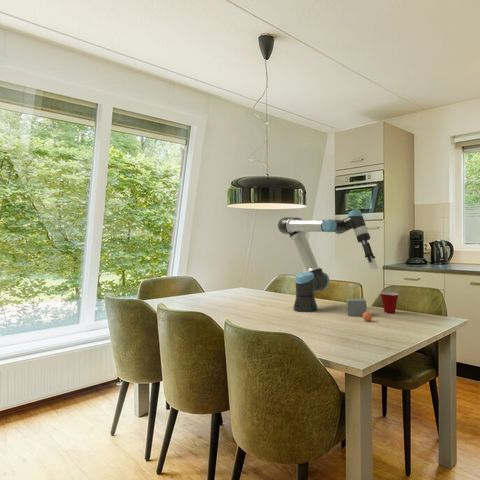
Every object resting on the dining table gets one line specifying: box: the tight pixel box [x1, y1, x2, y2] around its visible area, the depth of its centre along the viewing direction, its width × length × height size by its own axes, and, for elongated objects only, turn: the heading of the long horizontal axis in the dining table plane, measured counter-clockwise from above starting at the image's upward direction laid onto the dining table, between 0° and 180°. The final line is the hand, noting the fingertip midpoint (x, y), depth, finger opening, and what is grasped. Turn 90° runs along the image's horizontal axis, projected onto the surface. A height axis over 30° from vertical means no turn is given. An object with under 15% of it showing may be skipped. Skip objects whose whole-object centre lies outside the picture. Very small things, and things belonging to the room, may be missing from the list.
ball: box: [362, 311, 373, 322], centre depth 202 cm, size 5×5×5 cm
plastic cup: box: [379, 291, 400, 314], centre depth 223 cm, size 11×11×12 cm
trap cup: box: [345, 297, 368, 317], centre depth 220 cm, size 10×10×9 cm
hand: (374, 268), depth 218 cm, fingers open, 13 cm apart
